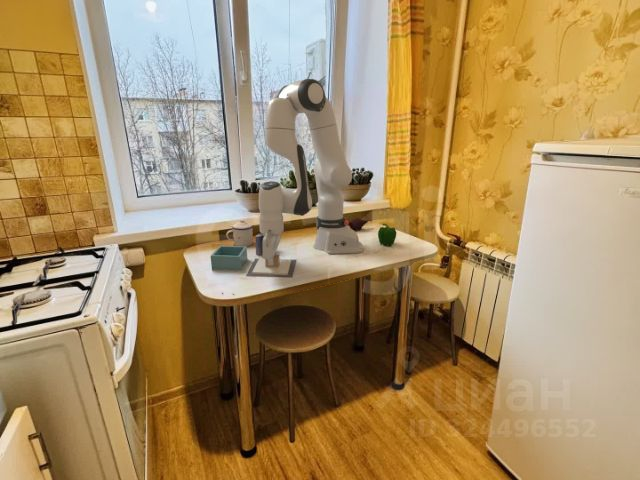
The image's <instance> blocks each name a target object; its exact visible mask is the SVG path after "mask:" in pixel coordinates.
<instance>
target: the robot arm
mask: <svg viewBox="0 0 640 480" xmlns="http://www.w3.org/2000/svg"><path fill="white" fill-rule="evenodd" d="M298 114H305V116H306V117H307V121H308V122H307V124H308V128H309V133H310V137H311V143H312V148H313V150H314V152H315V155H316V156H317V159H318V161H317V162H316V163H315V164H314V167H313V174H314V178H315V185H316V191H317V192H316V193H317V205H318V208H317V217H316V237H315V242H314V244H313V248H314V249H316V250H318V251H321V252H324V253H326V254H328V255H340V254H342V255H343V254H360V253H359V252H361V253H362V252H364V244H363V243H362V242H361V241H360V240H359V236H358V233H357V231H356V230H352V229H351V228H350V227H349V226H347V225H348V224H349V222H350V221H349V220H348V219H347V217H344V203H345V202H344V197H343V194H342V189H344V188H346V187H348V186H349V185H350V183H351V182H352V179H353V173H352V170H351V168H350V167H349V165H348V162H347V160H346V159H347V158H346V157H345V153H344V151H343V148H342V145H341V142H340V136H339V132H338V131H339V130H338V126H337V125H338V124H337V121H336V116H335V111H334V109H333V106H332V103H331V101H330V100H329V98H327V97H326V93H325V89H324V88H323V86H322V83H321V82H320V81H319V80H317V79H314V78H305V79H301V80H296V81H294V82H292V83H290V84H285V85H284V86H282V87H281V88H280V89H279V91H278V92H277V95H276V97H275V98H273V99H271V100H270V101H269V102H268V104H267V109H266V115H265V123H264V124H265V128H264V138H265V143H266V146H267V147H268V149H269V150H270V151H272V153H274V154H276V155H278V156H280V157H282V158H284V159H286V160H288V161H289V162H291V164H292V165H293V167H294V172H295V180H296V188H286V187H282V185H281V183H280V182H278V181H273V180H272V181H265V182H262V183H261V184H260V186H259V189H258V210H259V219H258V225H259V232H260V234H261V233H263V236H264V238H263V254H262V259H268V264H269V265H273V264H274V259H273V257H274V255H275V254H276V255H277V251H278V250H277V249H278V248H279V245H280V243H281V238H282V233H284V230H285V229H284V214H288V215H296V216H302V217H304V216H305V215H306V214H308V213H309V212H310V211H311V210H312V206H313V200H312V193H311V188H310V182H309V176H308V168H307V161H306V155H305V150H304V148H303V146H302V145H301V144H300V143H299V142H298V140H297V137H296V118H297V115H298ZM348 221H349V222H348Z"/></svg>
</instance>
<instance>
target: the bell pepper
mask: <svg viewBox="0 0 640 480" xmlns="http://www.w3.org/2000/svg"><path fill="white" fill-rule="evenodd" d="M383 226H385V227H383ZM377 237H378V242H379V244H380V245H382V244H384V245H383V246H386V245H391V246H392V245H394V244H395V240H396V238H397V230H396V228H395V227H391V226H389V224H387V223H382V226H380V227H379V229H378V231H377Z"/></svg>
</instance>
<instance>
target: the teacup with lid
mask: <svg viewBox="0 0 640 480" xmlns="http://www.w3.org/2000/svg"><path fill="white" fill-rule="evenodd" d="M231 227H232V229H230V230H228V231H227V232H226V235H225V236H226V238H227V239H228V241H231V242H233V246H246V247H247V248H248V247H250V246H253V244H254V236H253V235H254V234H253V228H254V226H253V224H252V223H251V222H248V221H246V220H245V219H243V218H242V219H240V220H239V221H238V222H236V223H234V224H233V225H232V226H231ZM230 233H232V236H233V238H230V237H229V234H230Z"/></svg>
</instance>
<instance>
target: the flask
mask: <svg viewBox="0 0 640 480" xmlns="http://www.w3.org/2000/svg"><path fill="white" fill-rule="evenodd" d="M254 238H255V255H256V256H263V238H264V236H263V233H261V232H260V233H258V234H256V235H255V237H254Z"/></svg>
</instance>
